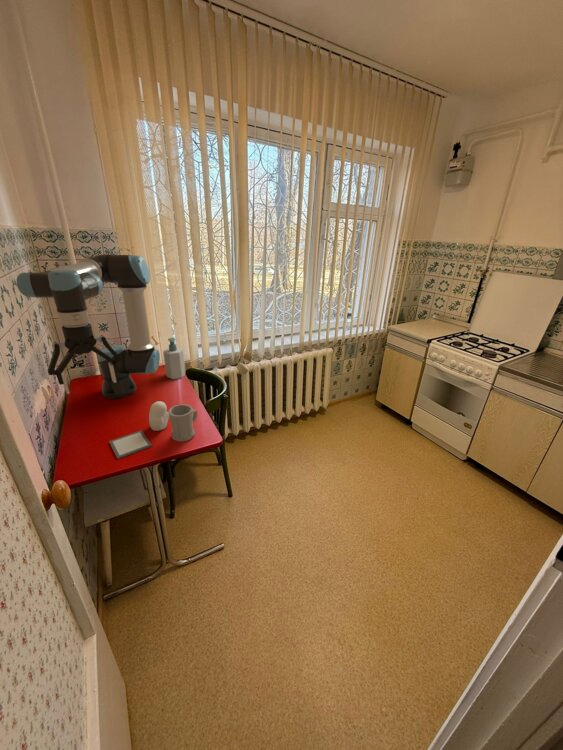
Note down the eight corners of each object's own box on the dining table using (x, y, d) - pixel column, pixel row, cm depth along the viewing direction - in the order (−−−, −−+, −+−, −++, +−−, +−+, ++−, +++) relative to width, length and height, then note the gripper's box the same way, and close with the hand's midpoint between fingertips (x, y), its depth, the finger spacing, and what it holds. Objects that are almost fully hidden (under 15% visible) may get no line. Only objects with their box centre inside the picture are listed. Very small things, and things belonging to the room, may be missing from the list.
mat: (109, 442, 116) (109, 441, 116) (141, 431, 123) (141, 430, 123) (117, 459, 108) (117, 458, 107) (151, 446, 115) (151, 445, 114)
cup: (177, 426, 127) (174, 401, 122) (199, 427, 127) (196, 402, 122) (168, 441, 118) (164, 415, 113) (191, 442, 118) (188, 416, 113)
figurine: (163, 433, 123) (159, 407, 118) (146, 430, 124) (142, 405, 119) (172, 423, 129) (169, 399, 124) (156, 420, 130) (152, 396, 125)
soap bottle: (167, 380, 166) (162, 342, 156) (165, 373, 173) (160, 337, 164) (186, 377, 170) (182, 340, 160) (184, 371, 177) (180, 335, 168)
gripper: (24, 334, 81) (47, 402, 90) (123, 321, 96) (135, 380, 105) (22, 327, 86) (44, 392, 95) (117, 316, 101) (128, 373, 110)
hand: (92, 386), depth 100 cm, fingers open, 13 cm apart
